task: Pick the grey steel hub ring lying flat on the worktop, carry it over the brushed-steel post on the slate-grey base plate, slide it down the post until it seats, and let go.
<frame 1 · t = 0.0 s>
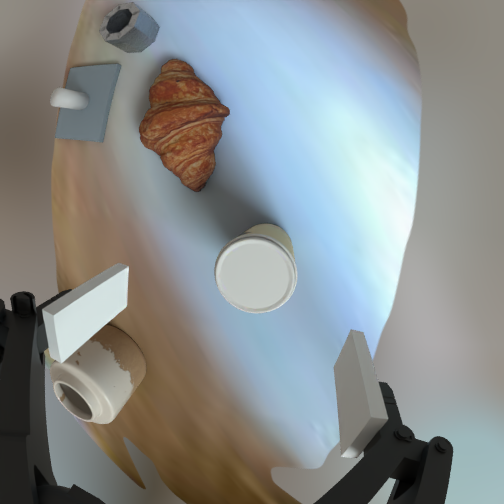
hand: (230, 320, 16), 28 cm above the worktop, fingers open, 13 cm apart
vase: (116, 354, 55), on the worktop
shaft block: (86, 102, 41), on the worktop
hub: (139, 35, 37), on the worktop
pastry: (187, 121, 41), on the worktop
coffee cup: (266, 248, 44), on the worktop
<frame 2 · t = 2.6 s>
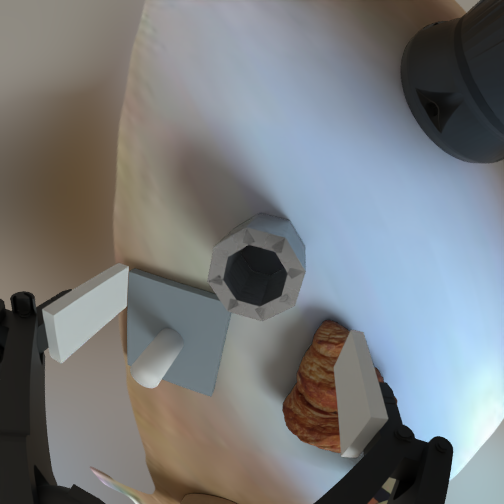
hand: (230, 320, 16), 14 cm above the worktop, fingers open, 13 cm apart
shaft block: (174, 335, 34), on the worktop
hub: (266, 251, 29), on the worktop
pastry: (336, 389, 33), on the worktop
coffee cup: (385, 466, 36), on the worktop
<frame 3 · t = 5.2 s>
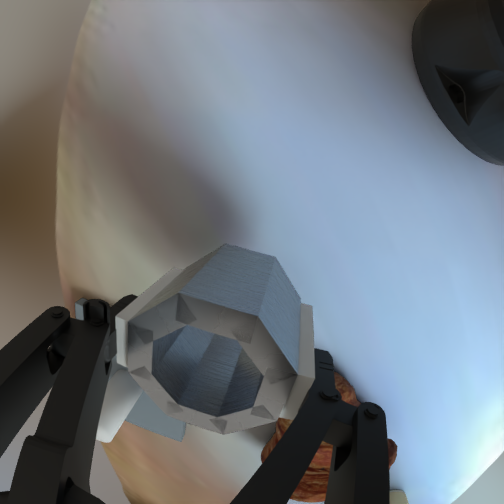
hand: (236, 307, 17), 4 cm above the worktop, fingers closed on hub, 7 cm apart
shaft block: (134, 375, 26), on the worktop
hub: (237, 304, 18), point 4 cm above the worktop, touching gripper
pastry: (324, 433, 26), on the worktop
coffee cup: (381, 499, 29), on the worktop
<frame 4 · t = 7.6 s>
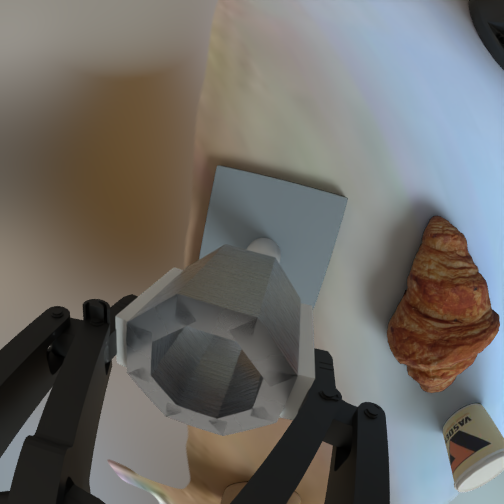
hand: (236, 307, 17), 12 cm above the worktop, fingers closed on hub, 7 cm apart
vase: (262, 496, 43), on the worktop
shaft block: (265, 251, 29), on the worktop
hub: (237, 304, 18), point 12 cm above the worktop, touching gripper
pastry: (435, 310, 28), on the worktop
coffee cup: (463, 419, 31), on the worktop
when the fingers open (2 cm above the worktop, at t = 9.8 s): hub stays where it is, resting on shaft block.
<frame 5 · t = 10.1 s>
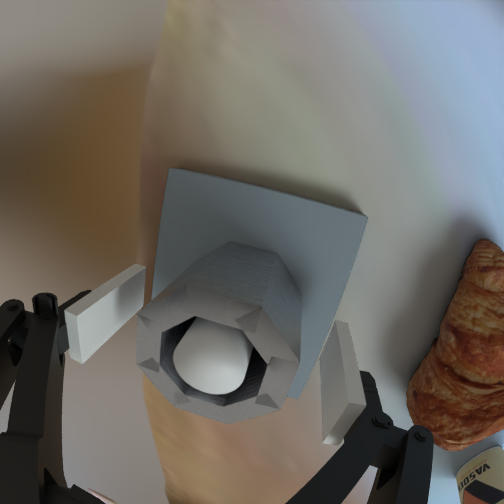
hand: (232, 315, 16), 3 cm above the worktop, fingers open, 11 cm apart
shaft block: (243, 292, 20), on the worktop
hub: (241, 299, 18), point 1 cm above the worktop, touching shaft block
pastry: (466, 357, 19), on the worktop
coffee cup: (479, 462, 22), on the worktop
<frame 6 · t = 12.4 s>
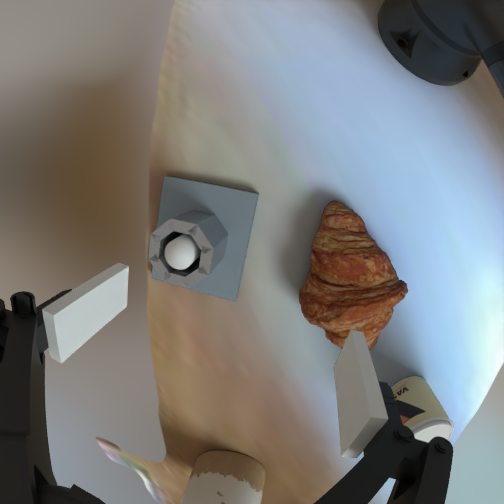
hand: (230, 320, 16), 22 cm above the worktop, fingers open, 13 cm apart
vase: (230, 467, 51), on the worktop
shaft block: (202, 237, 38), on the worktop
hub: (199, 239, 37), point 1 cm above the worktop, touching shaft block
pastry: (347, 281, 37), on the worktop
coffee cup: (406, 392, 40), on the worktop
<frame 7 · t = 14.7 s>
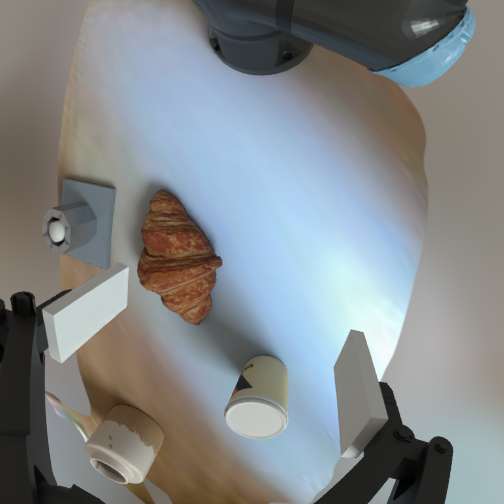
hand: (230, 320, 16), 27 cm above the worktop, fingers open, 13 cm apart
vase: (137, 424, 60), on the worktop
shaft block: (86, 221, 46), on the worktop
hub: (82, 222, 45), point 1 cm above the worktop, touching shaft block
pastry: (182, 257, 45), on the worktop
coffee cup: (265, 371, 49), on the worktop
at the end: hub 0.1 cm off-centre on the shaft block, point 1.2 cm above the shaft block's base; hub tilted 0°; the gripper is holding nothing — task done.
